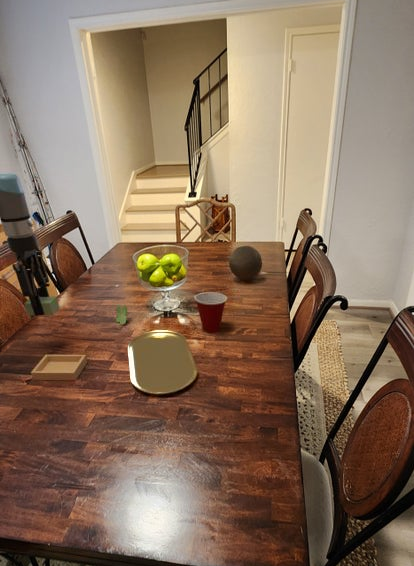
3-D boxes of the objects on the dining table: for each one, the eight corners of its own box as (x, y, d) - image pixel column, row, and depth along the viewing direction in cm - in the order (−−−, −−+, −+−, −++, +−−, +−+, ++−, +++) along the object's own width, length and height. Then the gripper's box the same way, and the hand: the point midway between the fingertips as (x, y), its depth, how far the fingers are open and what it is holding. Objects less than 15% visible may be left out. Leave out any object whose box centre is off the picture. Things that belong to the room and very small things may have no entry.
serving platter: (182, 330, 127) (181, 326, 126) (204, 390, 98) (204, 386, 97) (127, 338, 124) (126, 334, 123) (132, 403, 95) (132, 398, 94)
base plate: (33, 380, 106) (30, 372, 104) (48, 361, 114) (45, 354, 113) (75, 380, 105) (73, 372, 103) (87, 361, 113) (85, 354, 111)
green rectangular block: (28, 315, 114) (24, 303, 112) (35, 308, 118) (31, 296, 116) (53, 315, 113) (49, 303, 111) (59, 308, 117) (56, 296, 115)
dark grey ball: (234, 273, 173) (234, 241, 165) (264, 276, 169) (265, 243, 161) (225, 284, 162) (224, 250, 154) (257, 287, 158) (258, 252, 150)
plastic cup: (234, 329, 126) (234, 297, 120) (208, 339, 121) (206, 306, 115) (215, 318, 134) (214, 287, 128) (190, 327, 129) (188, 295, 123)
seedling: (130, 331, 139) (116, 328, 133) (125, 313, 141) (111, 309, 136) (143, 321, 135) (129, 318, 130) (137, 303, 138) (124, 299, 133)
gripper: (17, 243, 95) (42, 324, 108) (47, 227, 111) (66, 299, 123) (-10, 244, 96) (18, 324, 108) (23, 227, 111) (44, 299, 123)
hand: (43, 310), depth 115 cm, fingers closed on green rectangular block, 5 cm apart
